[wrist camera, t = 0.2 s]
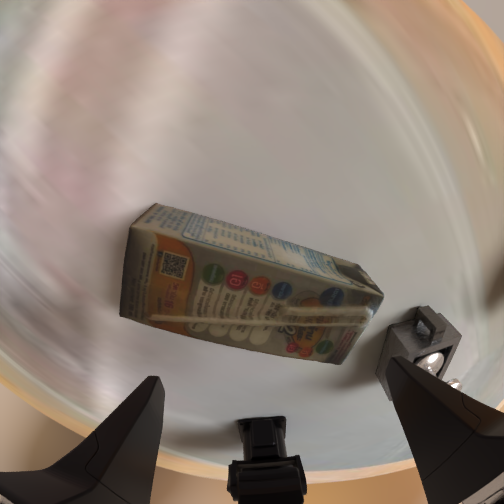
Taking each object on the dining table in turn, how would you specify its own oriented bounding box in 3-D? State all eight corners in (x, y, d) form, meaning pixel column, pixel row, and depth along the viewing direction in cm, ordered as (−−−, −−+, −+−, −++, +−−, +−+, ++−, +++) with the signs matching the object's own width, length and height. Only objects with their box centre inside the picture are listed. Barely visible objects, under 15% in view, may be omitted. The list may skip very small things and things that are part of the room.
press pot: (423, 359, 30) (439, 382, 25) (375, 373, 30) (389, 401, 25) (444, 298, 26) (467, 320, 22) (392, 309, 26) (415, 337, 21)
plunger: (433, 375, 25) (464, 423, 17) (401, 386, 25) (431, 440, 17) (446, 345, 23) (485, 394, 16) (414, 356, 23) (452, 413, 15)
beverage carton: (325, 330, 27) (344, 375, 21) (137, 281, 24) (110, 322, 18) (360, 262, 24) (393, 298, 18) (152, 198, 21) (120, 219, 15)
